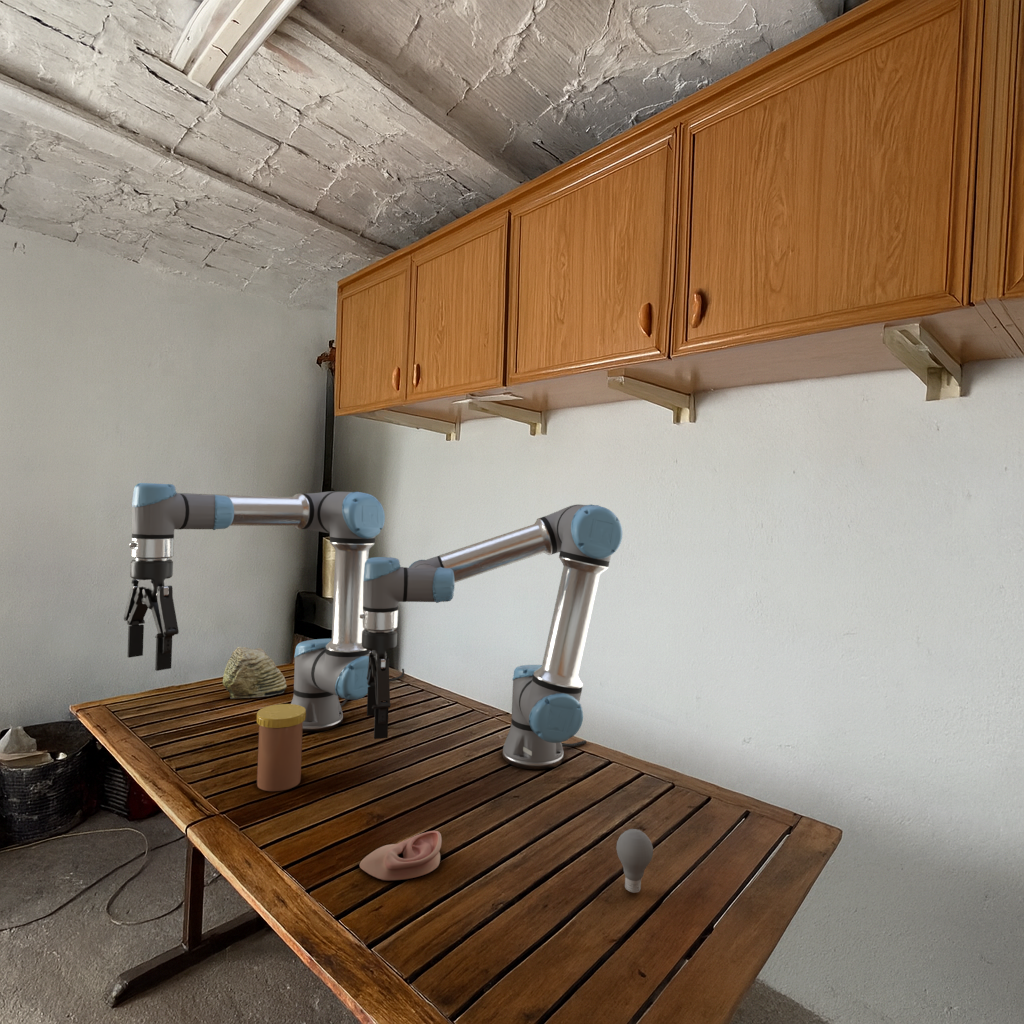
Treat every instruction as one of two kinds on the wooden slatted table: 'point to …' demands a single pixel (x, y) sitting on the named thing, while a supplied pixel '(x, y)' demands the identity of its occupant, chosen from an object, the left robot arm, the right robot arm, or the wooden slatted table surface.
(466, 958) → the wooden slatted table surface
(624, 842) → the light bulb
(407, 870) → the anatomical model
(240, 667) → the fossil
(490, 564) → the right robot arm
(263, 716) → the lid
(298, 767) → the jar
